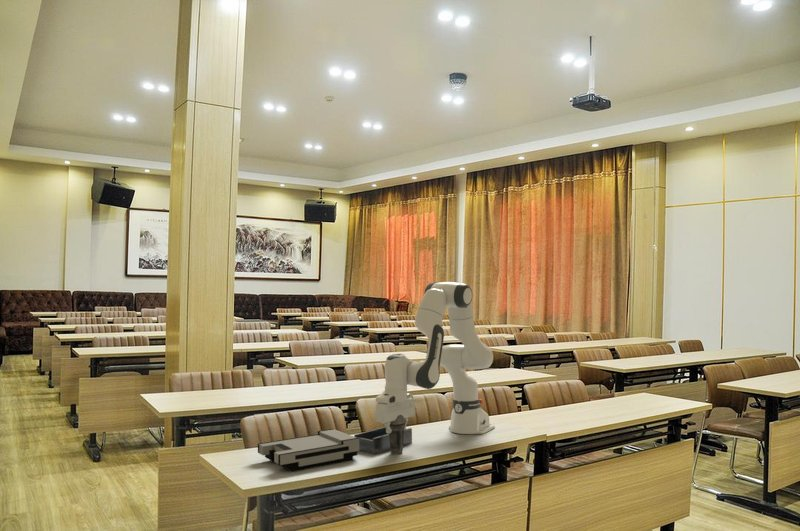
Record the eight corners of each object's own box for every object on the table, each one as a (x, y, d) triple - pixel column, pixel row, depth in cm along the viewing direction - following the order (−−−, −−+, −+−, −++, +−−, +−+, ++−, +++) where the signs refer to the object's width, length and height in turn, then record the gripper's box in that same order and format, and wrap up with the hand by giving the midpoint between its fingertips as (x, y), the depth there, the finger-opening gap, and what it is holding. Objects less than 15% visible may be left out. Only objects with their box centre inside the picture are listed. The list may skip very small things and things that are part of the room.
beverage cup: (405, 450, 239) (404, 399, 240) (406, 455, 232) (405, 403, 233) (387, 450, 239) (386, 400, 240) (387, 455, 232) (386, 403, 233)
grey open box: (392, 438, 258) (392, 424, 259) (411, 442, 251) (411, 428, 251) (354, 449, 241) (354, 434, 241) (374, 454, 234) (374, 438, 234)
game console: (257, 462, 225) (257, 440, 226) (332, 449, 244) (332, 428, 244) (280, 475, 208) (280, 451, 209) (359, 460, 226) (359, 438, 227)
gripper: (406, 391, 246) (407, 425, 245) (372, 398, 231) (372, 434, 230) (418, 393, 242) (419, 427, 241) (384, 399, 227) (384, 436, 226)
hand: (396, 431), depth 236 cm, fingers closed on beverage cup, 7 cm apart
